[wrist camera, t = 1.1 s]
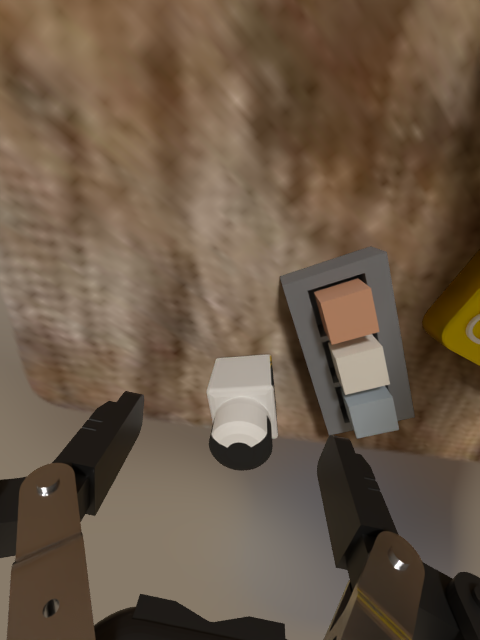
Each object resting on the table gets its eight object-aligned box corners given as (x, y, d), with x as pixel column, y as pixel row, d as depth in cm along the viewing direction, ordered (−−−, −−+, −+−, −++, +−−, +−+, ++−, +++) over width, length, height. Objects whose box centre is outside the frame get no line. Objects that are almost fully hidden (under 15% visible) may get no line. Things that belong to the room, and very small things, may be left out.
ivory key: (369, 331, 29) (382, 346, 26) (376, 365, 31) (390, 384, 28) (327, 342, 30) (335, 358, 27) (336, 375, 32) (345, 394, 29)
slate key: (379, 377, 31) (392, 397, 28) (385, 407, 33) (399, 429, 30) (339, 387, 32) (348, 407, 29) (347, 416, 34) (357, 438, 30)
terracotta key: (357, 278, 28) (370, 287, 24) (366, 317, 29) (379, 331, 26) (313, 292, 28) (320, 303, 25) (324, 329, 30) (331, 344, 27)
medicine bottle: (275, 399, 38) (281, 479, 27) (223, 402, 39) (208, 481, 28) (271, 353, 35) (275, 420, 24) (215, 357, 36) (195, 424, 25)
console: (370, 246, 30) (386, 251, 26) (399, 395, 36) (414, 417, 33) (279, 276, 31) (282, 285, 28) (322, 413, 38) (329, 435, 34)
